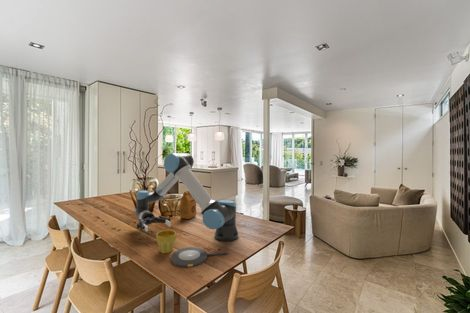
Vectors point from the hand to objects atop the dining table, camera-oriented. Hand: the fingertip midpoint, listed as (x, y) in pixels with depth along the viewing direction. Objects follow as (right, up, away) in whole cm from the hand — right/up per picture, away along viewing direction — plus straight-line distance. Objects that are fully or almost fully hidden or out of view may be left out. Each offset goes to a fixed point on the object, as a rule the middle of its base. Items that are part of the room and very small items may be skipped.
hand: (159, 227), depth 133 cm
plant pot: (+6, -11, -7) cm, 15 cm away
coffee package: (+7, -9, +52) cm, 53 cm away
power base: (+26, -11, -14) cm, 32 cm away
